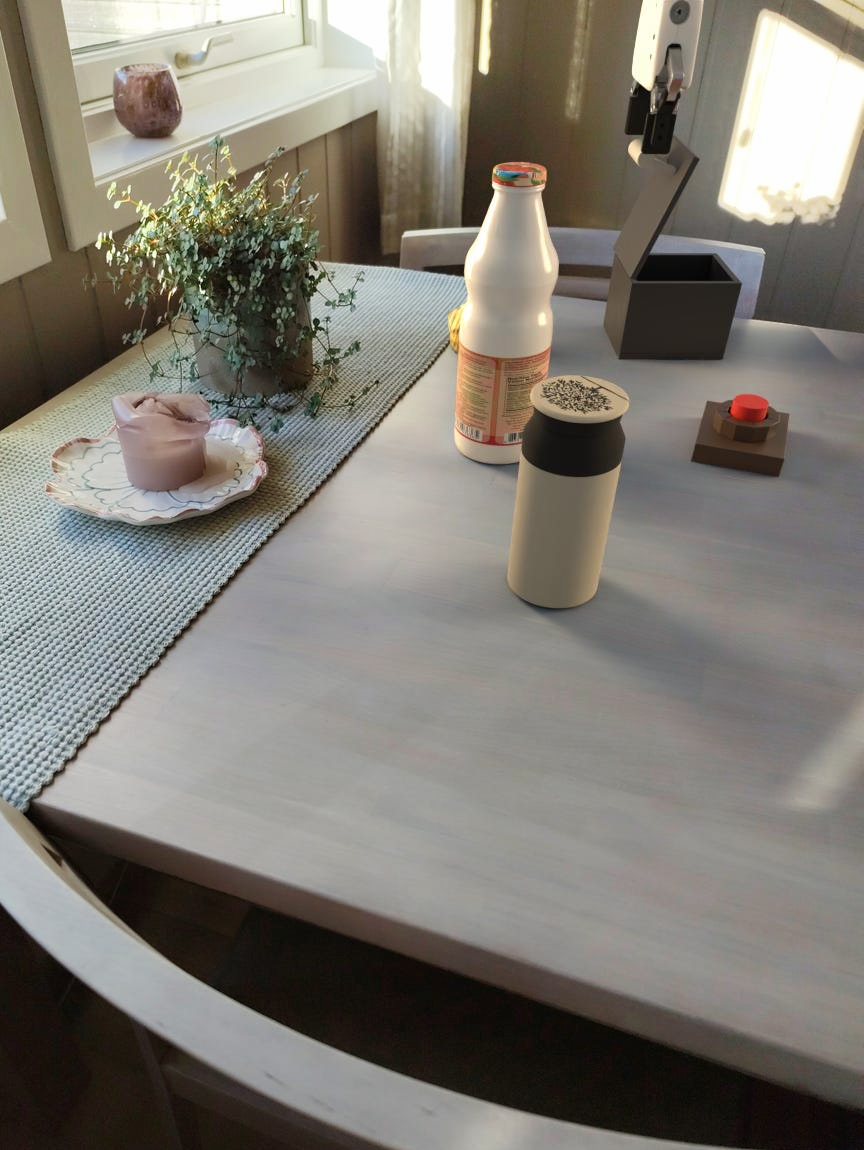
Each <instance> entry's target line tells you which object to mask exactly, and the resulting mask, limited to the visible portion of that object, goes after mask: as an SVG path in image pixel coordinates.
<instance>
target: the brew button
mask: <svg viewBox="0 0 864 1150" xmlns="http://www.w3.org/2000/svg"><path fill="white" fill-rule="evenodd" d="M732 400H733V404H732V408H731V411H730V415H731V416H732V417H734V418H737V419H739V420H741V421H747V422H762V421H764V419H765V416H766V413H767V409H768V406H770V402H769V400H768V399H766V398H765V397H763V396H760V395H757V394H753V393H741V394H738V395H736V396H735V397H734V398H733V399H732Z"/></svg>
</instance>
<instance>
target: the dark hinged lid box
mask: <svg viewBox="0 0 864 1150" xmlns="http://www.w3.org/2000/svg"><path fill="white" fill-rule="evenodd" d="M742 286H743V282H742V281H741V280H740V279H739V278H738V276H737V275H736V274H735V273H734V272H733V270H731V268H730V267H729V266H728V265H727V263H726V262H725V261H724V260H723V259H722V257H720V255H719V254H718V252H717V253H716V252H650V254H649V255H648V257H647V259H646V261H645V263H644V265H643V267H642V269H641V270H640V272H639V274H638V276H637V278H636V280H633V279H631V278H630V277H629V276H628V274H627V272H626V270H625V269H624V267H623V265H622V263H621V262H620V260H619V258H618V257H617V255H616V253H615V252H614V255H613V260H612V268H611V274H610V281H609V286H608V293H607V299H606V305H605V312H604V316H603V325H602V326H603V328H604V330H605V333H606V335H607V337H608V339H609V341H610V344H611V346H612V348H613V350H614V352H615V355H616V357H617V358H618V360H683V361H685V360H693V361H695V360H699V361H701V360H702V361H703V360H711V361H713V360H715V361H716V360H719V361H721V360H724V356H725V353H726V350H727V345H728V341H729V337H730V333H731V330H732V325H733V321H734V317H735V313H736V310H737V305H738V301H739V297H740V294H741V289H742Z"/></svg>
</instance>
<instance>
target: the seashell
mask: <svg viewBox="0 0 864 1150" xmlns="http://www.w3.org/2000/svg"><path fill="white" fill-rule="evenodd" d="M465 304H466V302H465V303H462V304H461V306H459V307H457V308H454V309H453V310H451V311H450V312H448V313H447V319H448V320H447V321H448V324H447V325H448V331H449V343H450V347H451V349H452V351H454V352H455V353H456V354H459V332H460V322H461V315H462V311H463V308H464V306H465Z"/></svg>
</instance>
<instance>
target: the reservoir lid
mask: <svg viewBox="0 0 864 1150" xmlns="http://www.w3.org/2000/svg"><path fill="white" fill-rule="evenodd" d="M642 140H643V139H640V138H636V139H633V140H632V141H631V142H630V143H629V144H628V148H627V149H628V150H627V152H628V154H629V156H630V157H631V159H633V161H634V162H635V164H637V166H638V167H639V168H640V169H648V168H650V167H651V166H652V167H653V168H652V170H651V172H650V174H649V176H648V178H647V180H646V182H645V183H644V186H643V188H642V190H641V191H640V194H639V195H638V197H637V199H636V202H635V203H634V205H633V207H632V209H631V211H630V213H629V215H628V217H627V219H626V221H625V223H624V225H623V227H622V229H621V231H620V233H619V235H618V237H617V239H616V241H615V243H614V245H613V247H612V250H613V251H614V254H615V253H616V255H617V257H618V258H619V260H620V262H621V263H622V265H623V267H624V269H625V270H626V272H627V274H628V276H629V277H630V278H631V279H633V280H636V278H637V276H638V274H639V272H640V270H641V269H642V267H643V265H644V263H645V261H646V259H647V257H648V255H649V254H650V253H652V250H653V249H654V246H655V245H656V242H657V240H658V239H659V236H660V234H661V233H662V231H663V229H664V228H665V226H666V224H667V222H668V220H669V218H670V216H671V214H672V213H673V210H674V208H675V207H676V205H677V203H678V202H679V199H680V197H681V196H682V194H683V192H684V190H685V188H686V186H687V184H688V183H689V181H690V179H691V177H692V175H693V173H694V171H695V169H696V167H697V165H698V164H699V162H700V160H701V159H700V157H699V156H698V155H697V154H696V153H695V152H693V150H692V149H691V148H689V147H688V146H687V145H686V144H685V143H684V142H683V141H682V140H681V139H680V138H679V137H677V135H674V134H673V138H672V143H671V148H670V152H669V153H668V154H643V153H642V152H641V146H642Z"/></svg>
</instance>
